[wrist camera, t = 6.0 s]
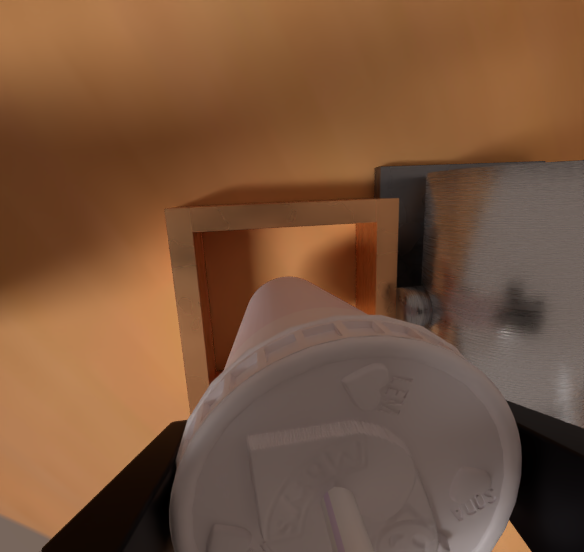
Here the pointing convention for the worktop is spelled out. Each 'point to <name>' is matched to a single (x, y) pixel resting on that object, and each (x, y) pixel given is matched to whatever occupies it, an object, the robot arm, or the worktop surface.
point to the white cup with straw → (343, 438)
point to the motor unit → (437, 269)
